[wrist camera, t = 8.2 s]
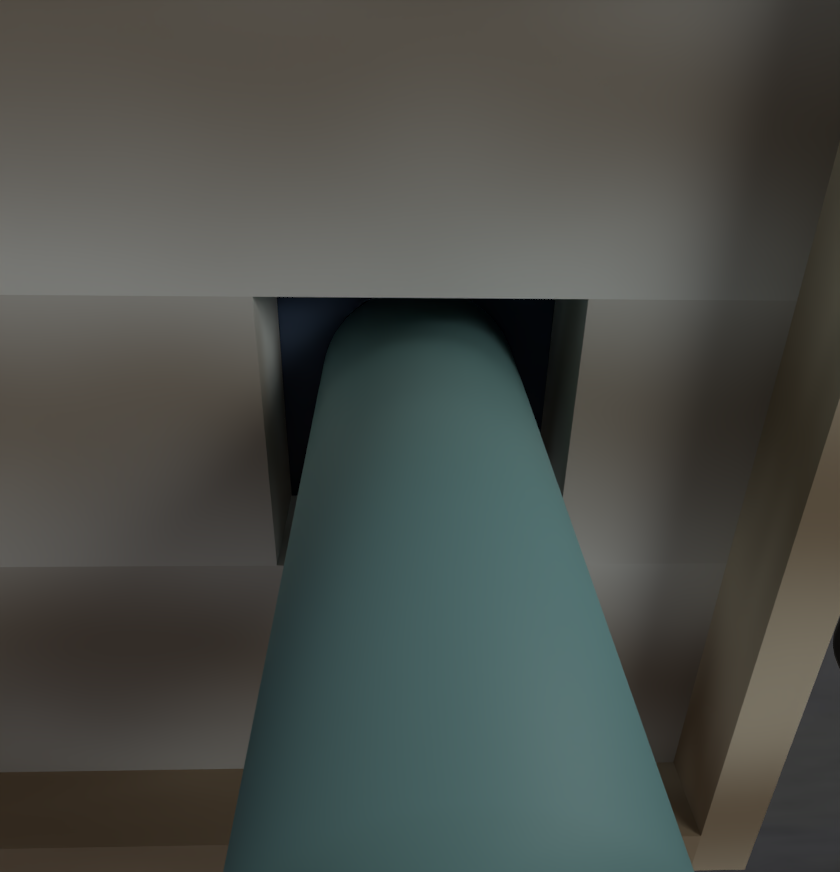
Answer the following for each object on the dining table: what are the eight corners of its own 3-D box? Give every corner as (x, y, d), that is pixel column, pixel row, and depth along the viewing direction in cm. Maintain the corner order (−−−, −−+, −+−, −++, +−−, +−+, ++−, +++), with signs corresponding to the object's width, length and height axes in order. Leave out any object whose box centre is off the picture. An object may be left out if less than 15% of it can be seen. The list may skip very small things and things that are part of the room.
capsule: (506, 461, 14) (663, 1078, 6) (327, 462, 13) (233, 1090, 6) (521, 288, 12) (765, 805, 4) (318, 286, 12) (175, 813, 4)
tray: (680, 714, 17) (744, 869, 14) (-59, 723, 16) (-163, 887, 13) (925, -220, 9) (1194, -337, 6) (-466, -265, 9) (-941, -420, 6)
